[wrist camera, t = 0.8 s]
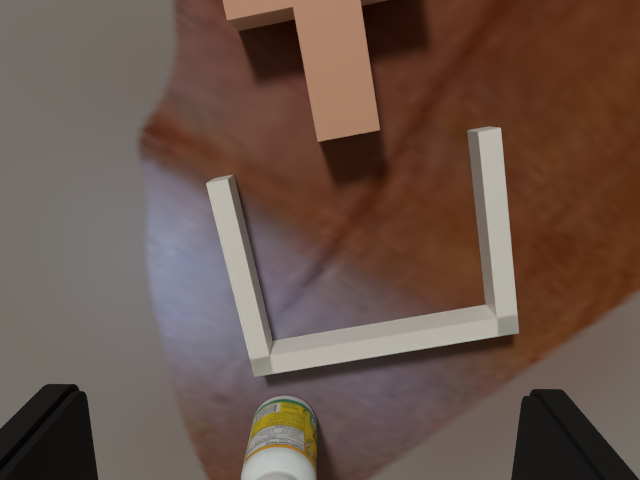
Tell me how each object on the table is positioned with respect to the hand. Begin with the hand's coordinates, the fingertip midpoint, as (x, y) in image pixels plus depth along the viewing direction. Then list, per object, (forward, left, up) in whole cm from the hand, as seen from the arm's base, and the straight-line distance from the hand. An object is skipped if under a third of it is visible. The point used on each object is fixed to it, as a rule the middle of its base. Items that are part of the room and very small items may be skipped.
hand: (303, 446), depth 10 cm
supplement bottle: (+6, +18, -27) cm, 32 cm away
